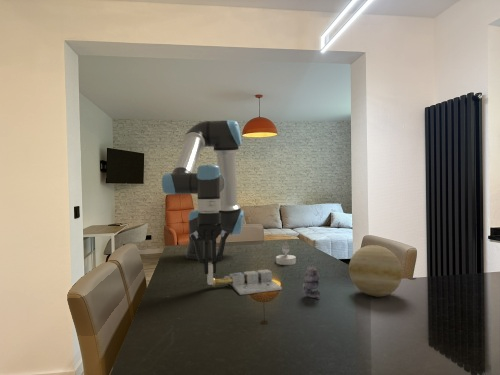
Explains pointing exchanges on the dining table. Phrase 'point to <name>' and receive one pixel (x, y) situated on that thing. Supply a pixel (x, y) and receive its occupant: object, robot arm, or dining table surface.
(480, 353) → the dining table surface
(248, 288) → the hinge leaves
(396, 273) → the decorative ball
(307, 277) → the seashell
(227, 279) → the pin
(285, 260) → the wall hook
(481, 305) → the dining table surface
